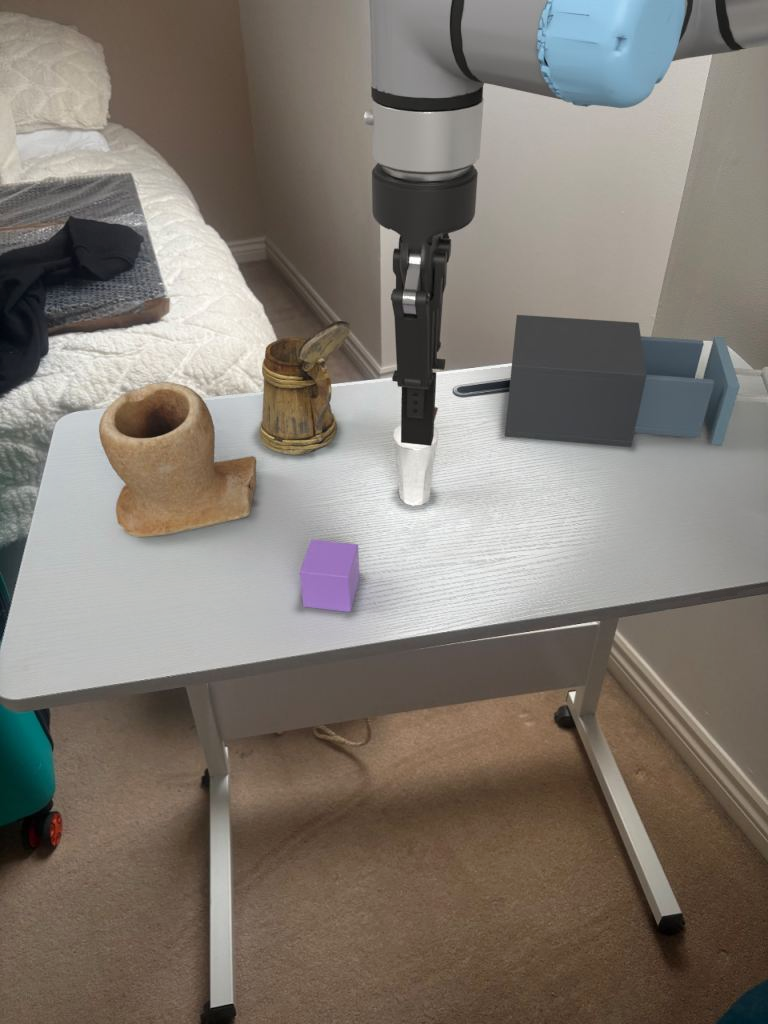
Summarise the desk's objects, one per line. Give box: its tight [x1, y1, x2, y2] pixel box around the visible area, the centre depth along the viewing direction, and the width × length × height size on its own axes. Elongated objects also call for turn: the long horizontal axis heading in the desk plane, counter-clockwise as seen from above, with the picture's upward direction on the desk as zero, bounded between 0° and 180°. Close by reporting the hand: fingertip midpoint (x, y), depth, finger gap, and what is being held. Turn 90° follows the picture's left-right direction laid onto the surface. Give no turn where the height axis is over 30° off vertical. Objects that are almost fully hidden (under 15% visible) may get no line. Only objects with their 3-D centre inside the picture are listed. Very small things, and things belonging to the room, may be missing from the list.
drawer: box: [634, 335, 768, 446], centre depth 97 cm, size 19×11×8 cm, turn 80°
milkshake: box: [393, 405, 439, 507], centre depth 87 cm, size 5×5×10 cm
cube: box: [299, 539, 360, 613], centre depth 77 cm, size 4×4×4 cm
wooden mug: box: [259, 320, 351, 456], centre depth 92 cm, size 9×14×18 cm, turn 39°
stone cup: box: [98, 381, 257, 538], centre depth 83 cm, size 15×12×15 cm
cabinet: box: [504, 314, 647, 448], centre depth 99 cm, size 15×13×10 cm
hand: (417, 439), depth 74 cm, fingers closed
